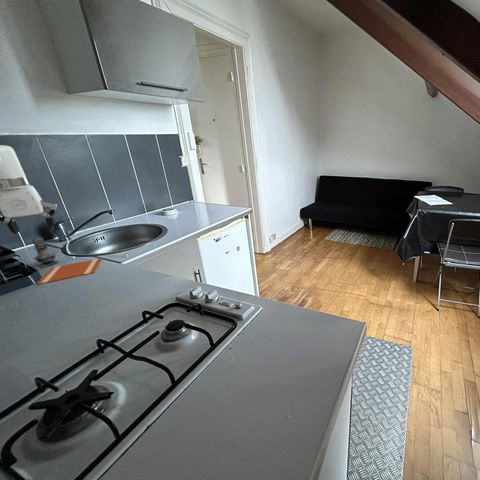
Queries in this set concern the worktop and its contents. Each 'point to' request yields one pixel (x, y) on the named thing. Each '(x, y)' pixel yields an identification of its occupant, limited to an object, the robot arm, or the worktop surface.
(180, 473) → the worktop surface
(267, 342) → the worktop surface
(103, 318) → the worktop surface
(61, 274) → the towel
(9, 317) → the worktop surface
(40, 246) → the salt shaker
